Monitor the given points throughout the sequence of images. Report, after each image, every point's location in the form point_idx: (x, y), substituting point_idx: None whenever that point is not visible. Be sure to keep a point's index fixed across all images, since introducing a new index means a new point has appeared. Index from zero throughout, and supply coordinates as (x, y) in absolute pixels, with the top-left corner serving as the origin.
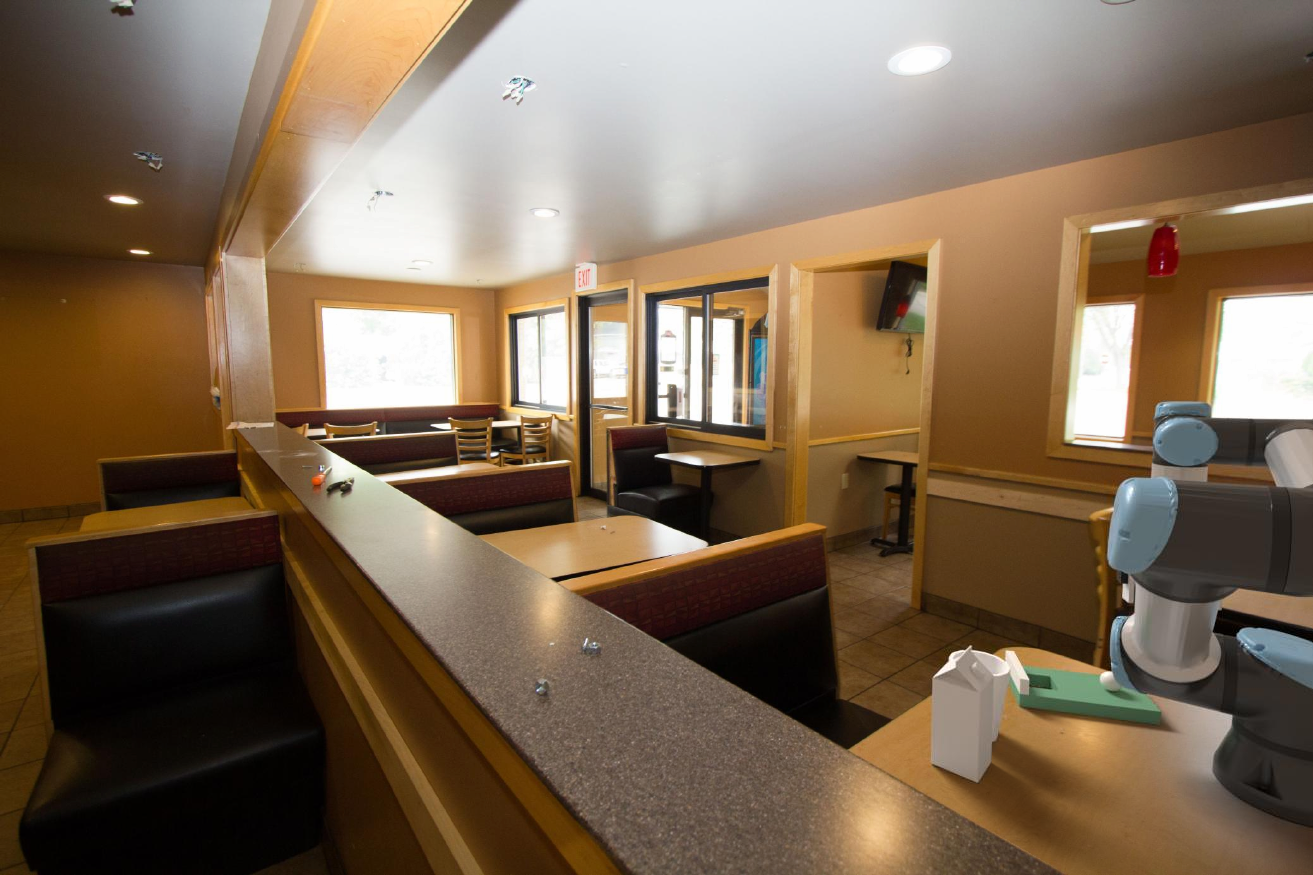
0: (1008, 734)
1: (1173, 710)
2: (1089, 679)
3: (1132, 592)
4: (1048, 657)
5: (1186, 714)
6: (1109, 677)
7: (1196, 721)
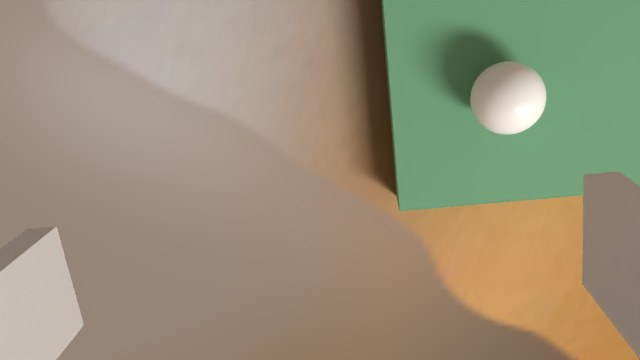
0: None
1: (311, 103)
2: (548, 150)
3: (636, 204)
4: (589, 345)
5: (281, 90)
6: (529, 78)
7: (266, 54)
